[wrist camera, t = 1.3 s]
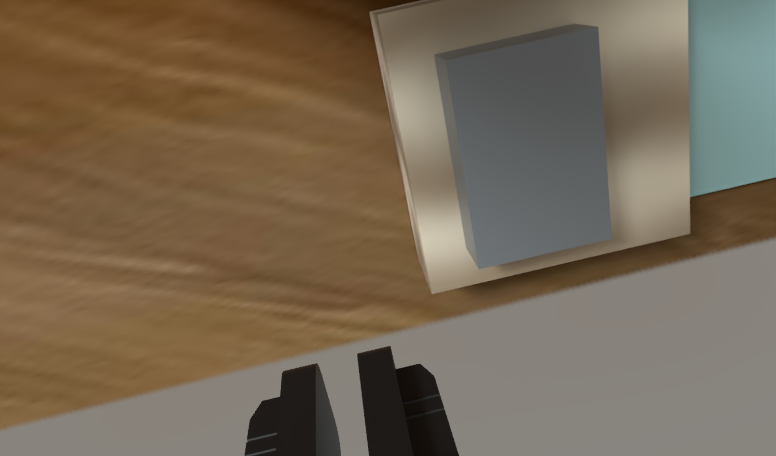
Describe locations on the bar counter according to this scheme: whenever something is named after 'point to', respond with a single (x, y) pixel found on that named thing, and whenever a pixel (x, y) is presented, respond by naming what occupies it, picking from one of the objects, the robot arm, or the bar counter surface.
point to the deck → (620, 104)
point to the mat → (731, 93)
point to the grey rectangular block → (527, 143)
